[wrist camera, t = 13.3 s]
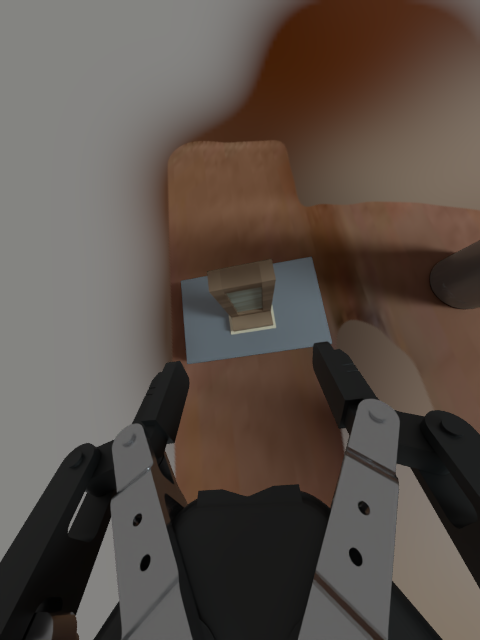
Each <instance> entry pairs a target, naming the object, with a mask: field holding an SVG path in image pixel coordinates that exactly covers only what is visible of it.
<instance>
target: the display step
mask: <svg viewBox="0 0 480 640" xmlns="http://www.w3.org/2000/svg"><path fill="white" fill-rule="evenodd" d="M273 268H274V273H275V278H276V281H275V288H274V294H273V301H272V307H271V314H272V320H273V325H272V326H266V327H260V328H254V329H248V330H242V331H236V332H234V331H233V326H232V319H231V317H230V316H229V314H228V313H227V312H226V311H225V310H224V309H223V307H222V306H221V305H220V304H219V303H218V302H217V300H216V299H215V298H214V297H213V296H212V295H211V294H210V292H209V287H208V278H207V276H205V277H199V278H194V279H188V280H183V281H181V289H182V302H183V315H184V328H185V341H186V354H187V364H192V363H200V362H207V361H215V360H222V359H229V358H236V357H243V356H250V355H257V354H264V353H271V352H279V351H286V350H293V349H300V348H307V347H313V344H314V343H318V342H326V341H328V342H329V343H330V344H332V341H331V337H330V332H329V328H328V324H327V320H326V315H325V311H324V307H323V303H322V298H321V294H320V290H319V286H318V281H317V277H316V273H315V269H314V264H313V260H312V257H307V258H302V259H296V260H291V261H285V262H280V263H275V264H273Z"/></svg>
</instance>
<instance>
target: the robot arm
mask: <svg viewBox="0 0 480 640" xmlns="http://www.w3.org/2000/svg"><path fill="white" fill-rule="evenodd" d="M430 285H431V287H432V290H433V291H434V293H435V295H436V296H437V297H438V298H439V299H440V300H442V301H443V302H444V303H446V304H448V305H450V306H452V307H456V308H459V309H474V308H478V307H480V240H479V241H477V242H475V243H473V244H471V245H470V246H468V247H466V248H464V249H462V250H460V251H458V252H456V253H454V254H453V255H451V256H449V257H447V258H445V259H443V260H441V261H440V262H439V263H437V264H436V265H435V266H434V268H433V269H432V271H431V274H430ZM313 368H314V371H315V374H316V376H317V379H318V381H319V383H320V386H321V388H322V390H323V393H324V395H325V397H326V400H327V402H328V404H329V407H330V409H331V411H332V414H333V416H334V418H335V421H336V423H337V425H338V428H339V429H341V428H346V429H347V431H348V433H349V435H350V436H349V440H348V443H347V447H346V451H345V455H344V459H343V462H342V466H341V470H340V474H339V477H338V481H337V485H336V488H335V492H334V496H333V500H332V503H331V507H330V508H329V507H328V506H327V505H326V504H324V503H323V502H322V501H320V500H319V499H317V498H316V497H314V496H312V495H310V494H308V493H305V492H302V491H300V488H299V484H296V485H281V486H272V487H270V488H267V489H265V490H263V491H260V492H258V493H256V494H253V495H251V496H243V495H239V494H236V493H233V492H229V491H226V490H223V489H221V490H205V491H199V492H198V499H196V500H194V501H193V502H191V503H189V504H187V501H186V499H185V497H184V495H183V494H182V492H181V490H180V489H179V487H178V484H177V482H176V479H175V476H174V473H173V471H172V468H171V465H170V462H169V460H168V457H167V454H166V452H165V447H166V444H170V443H175V439H176V435H177V431H178V428H179V424H180V420H181V416H182V412H183V408H184V405H185V401H186V397H187V393H188V389H189V377H188V375H187V373H186V371H185V369H184V367H183V365H182V363H181V362H180V361H176V362H169V363H166V365H165V367H164V369H163V371H162V372H160V373H158V375H156V377H155V378H154V379H153V380H152V382H151V385H150V387H149V390H148V391H147V393H146V396H145V398H144V399H143V402H142V404H141V406H140V408H139V410H138V412H137V415H136V417H135V419H134V421H133V423H132V424H131V425H129V426H127V427H126V428H124V429H123V430H122V431H121V432H120V433H119V434H118V435H117V437H116V438H115V440H112V441H110V442H108V443H105V444H103V445H101V446H99V447H95V446H94V445H92V444H90V443H86V444H83V445H80V446H79V447H77V448H75V449H74V450H73V451H72V452H71V453H69V455H68V456H67V457H66V458H65V459H64V461H63V462H62V464H61V465H60V467H59V468H58V470H57V472H56V473H55V475H54V477H53V478H52V480H51V481H50V483H49V485H48V486H47V488H46V489H45V491H44V493H43V494H42V496H41V498H40V499H39V501H38V502H37V504H36V506H35V507H34V509H33V511H32V512H31V514H30V515H29V517H28V519H27V520H26V522H25V524H24V525H23V527H22V528H21V530H20V531H19V533H18V535H17V536H16V538H15V540H14V541H13V543H12V545H11V546H10V548H9V549H8V551H7V553H6V554H5V556H4V557H3V559H2V561H1V562H0V640H79V635H78V633H77V620H76V617H75V615H76V613H77V610H78V607H79V605H80V602H81V599H82V596H83V594H84V591H85V588H86V585H87V582H88V579H89V577H90V574H91V571H92V569H93V566H94V563H95V560H96V557H97V555H98V552H99V549H100V546H101V543H102V541H103V538H104V535H105V532H106V530H107V527H108V524H109V521H110V518H112V528H113V539H114V549H115V560H116V571H117V582H118V592H119V602H118V604H117V605H116V606H115V608H114V609H113V611H112V612H111V614H110V616H109V617H108V618H107V620H106V622H105V623H104V625H103V626H102V628H101V629H100V631H99V632H98V634H97V635H96V637H95V638H94V640H442V638H441V637H440V636H439V635H438V634H437V633H436V631H435V630H434V629H433V628H432V627H431V626H430V624H429V623H428V622H427V621H426V620H425V619H424V617H423V616H422V615H421V614H420V613H419V612H418V610H417V609H416V608H415V607H414V606H413V605H412V603H411V602H410V601H409V600H408V599H407V597H406V596H405V595H404V594H403V593H402V592H401V590H400V589H399V588H398V587H397V586H396V585H395V583H393V581H392V572H393V559H394V545H395V532H396V519H397V506H398V493H399V482H398V478H397V477H396V463H397V464H401V465H404V466H408V467H410V468H411V469H412V471H413V473H414V475H415V476H416V478H417V480H418V482H419V483H420V485H421V487H422V489H423V490H424V492H425V494H426V496H427V497H428V499H429V501H430V503H431V504H432V506H433V508H434V510H435V511H436V513H437V515H438V517H439V518H440V520H441V522H442V523H443V525H444V527H445V529H446V530H447V532H448V534H449V536H450V538H451V539H452V541H453V543H454V545H455V546H456V548H457V550H458V552H459V553H460V555H461V557H462V559H463V560H464V562H465V564H466V566H467V567H468V569H469V571H470V572H471V574H472V576H473V577H474V579H475V581H476V582H477V585H478V586H479V588H480V435H479V434H478V432H477V431H476V430H475V429H474V428H473V427H472V426H471V425H470V424H468V423H467V422H466V421H464V420H463V419H461V418H460V417H458V416H456V415H454V414H451V413H449V412H445V411H440V410H435V411H430V412H429V413H427V414H426V416H425V417H424V416H419V415H414V414H408V413H403V412H399V411H396V410H393V409H392V408H391V407H390V406H388V405H387V404H386V403H384V402H382V401H380V400H379V399H378V398H377V397H376V396H375V394H374V393H373V391H372V390H371V388H370V387H369V385H368V384H367V382H366V381H365V379H364V378H363V376H362V375H361V373H360V372H359V371H358V369H357V368H356V366H355V365H354V364H353V362H352V360H351V359H350V357H349V356H348V355H347V354H346V353H344V352H343V351H342V350H340V349H337V350H334V349H333V348H332V346H331V345H330V343H329V342H328V341H326V342H318V343H314V344H313ZM85 491H86V492H87V494H86V496H85V499H84V501H83V503H82V505H81V507H80V509H79V511H78V513H77V516H76V518H75V520H74V522H73V524H72V526H71V528H70V531H69V533H68V527H69V524H70V521H71V519H72V517H73V515H74V513H75V511H76V509H77V507H78V504H79V503H80V500H81V498H82V496H83V494H84V492H85Z"/></svg>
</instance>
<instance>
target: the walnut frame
mask: <svg viewBox="0 0 480 640" xmlns="http://www.w3.org/2000/svg"><path fill="white" fill-rule="evenodd" d="M207 278H208V287H209V292H210V294H211V295H212V296H213V297H214V298H215V299H216V300H217V302H218V303H219V304H220V305H221V306H222V307H223V309H224V310H225V311H226V312H227V313H228V314H229V316H230V317H231V319H232V326H233V331H234V332H236V331H242V330H248V329H254V328H260V327H266V326H272V325H273V320H272V314H271V307H272V301H273V294H274V288H275V281H276V278H275V273H274V268H273V263H272V259H268V260H263V261H258V262H253V263H248V264H242V265H237V266H232V267H227V268H222V269H217V270H212V271H207Z"/></svg>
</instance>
